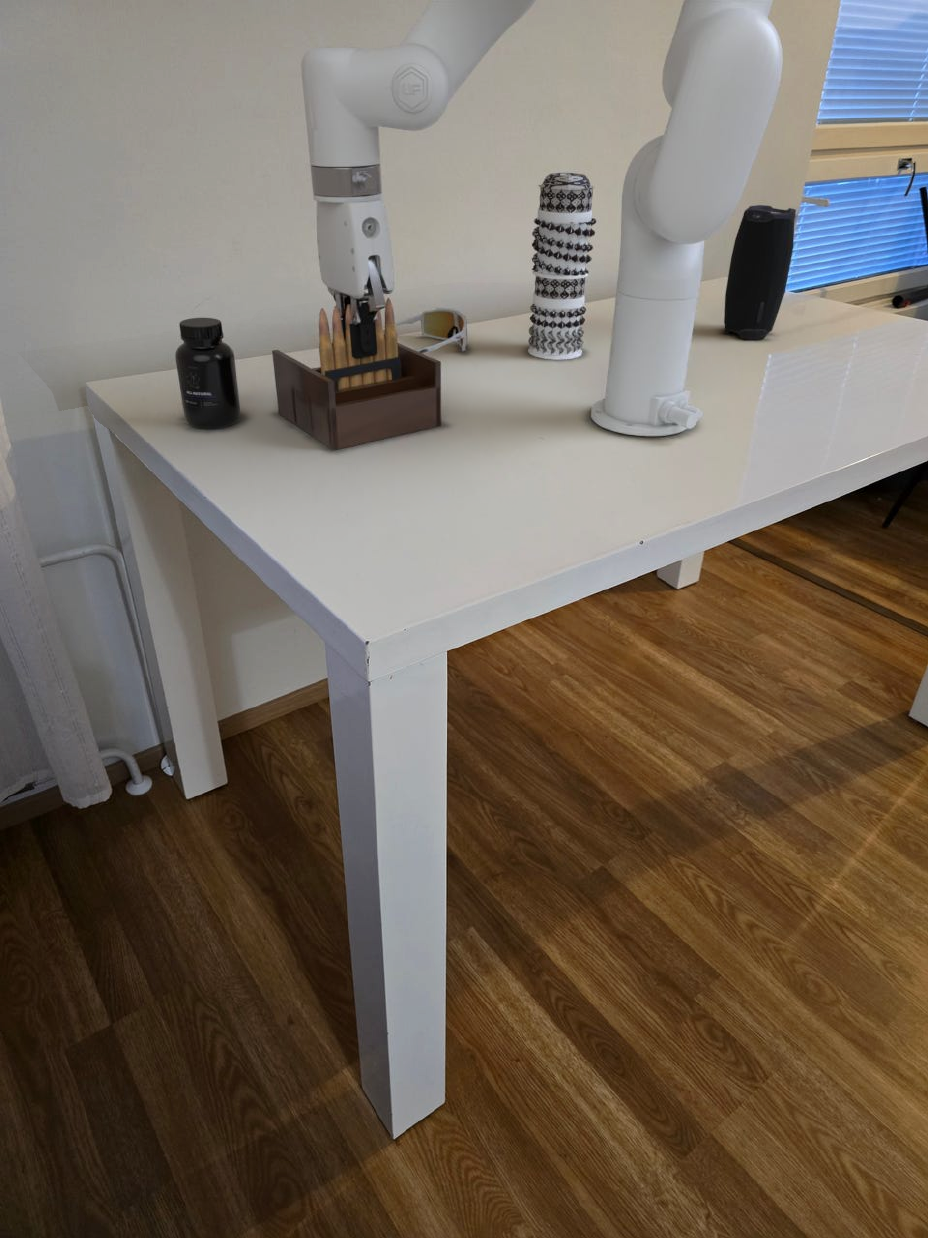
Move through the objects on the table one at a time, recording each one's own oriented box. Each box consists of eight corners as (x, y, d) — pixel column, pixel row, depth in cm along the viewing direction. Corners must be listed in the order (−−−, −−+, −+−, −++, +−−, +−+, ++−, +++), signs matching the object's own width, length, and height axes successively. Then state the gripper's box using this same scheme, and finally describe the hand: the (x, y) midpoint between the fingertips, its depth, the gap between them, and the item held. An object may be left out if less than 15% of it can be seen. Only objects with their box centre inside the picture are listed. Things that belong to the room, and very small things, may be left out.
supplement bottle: (192, 433, 102) (175, 331, 95) (180, 416, 107) (163, 318, 100) (248, 425, 104) (235, 325, 98) (234, 408, 109) (221, 312, 103)
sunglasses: (486, 351, 133) (483, 319, 130) (405, 379, 127) (400, 347, 124) (437, 331, 143) (433, 301, 140) (360, 357, 137) (354, 326, 134)
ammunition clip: (328, 413, 102) (318, 310, 96) (321, 409, 103) (310, 307, 97) (404, 396, 107) (399, 298, 101) (396, 393, 108) (391, 295, 102)
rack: (441, 425, 105) (441, 361, 101) (333, 450, 98) (327, 381, 93) (380, 393, 115) (378, 333, 111) (278, 413, 108) (271, 350, 104)
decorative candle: (587, 360, 130) (604, 178, 116) (527, 359, 130) (537, 176, 116) (581, 344, 137) (596, 171, 124) (524, 343, 137) (533, 170, 124)
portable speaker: (720, 326, 149) (742, 203, 138) (776, 331, 146) (802, 206, 136) (716, 337, 142) (738, 209, 132) (774, 343, 140) (801, 212, 129)
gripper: (414, 187, 88) (420, 364, 98) (343, 175, 99) (355, 335, 109) (351, 192, 85) (364, 375, 95) (284, 180, 96) (303, 345, 106)
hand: (359, 353), depth 102 cm, fingers closed on ammunition clip, 1 cm apart
